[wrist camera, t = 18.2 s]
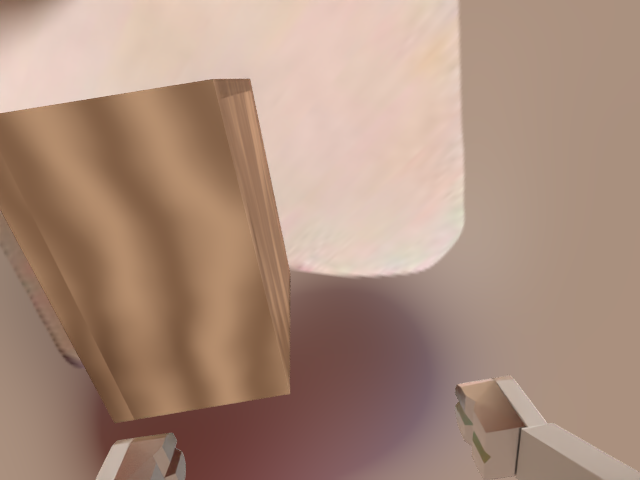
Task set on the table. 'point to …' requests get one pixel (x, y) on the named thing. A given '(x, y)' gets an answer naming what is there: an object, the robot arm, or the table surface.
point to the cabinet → (155, 242)
